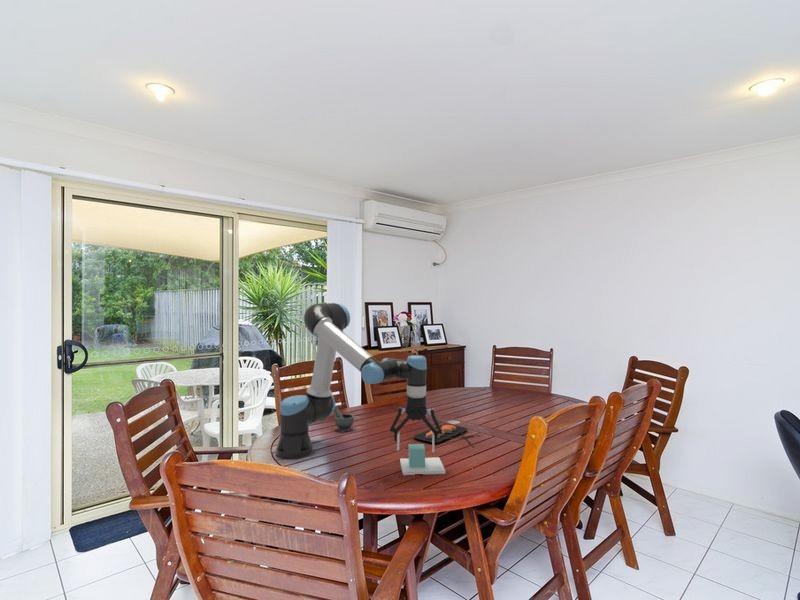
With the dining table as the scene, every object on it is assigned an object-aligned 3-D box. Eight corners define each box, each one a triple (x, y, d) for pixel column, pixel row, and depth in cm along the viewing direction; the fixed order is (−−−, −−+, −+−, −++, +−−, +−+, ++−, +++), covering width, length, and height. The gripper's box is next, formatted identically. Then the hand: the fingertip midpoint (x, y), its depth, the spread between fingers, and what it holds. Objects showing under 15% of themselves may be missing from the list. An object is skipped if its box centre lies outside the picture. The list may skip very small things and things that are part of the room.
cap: (409, 467, 170) (409, 449, 170) (408, 461, 176) (408, 444, 176) (425, 467, 170) (425, 448, 170) (423, 461, 176) (423, 443, 176)
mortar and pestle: (356, 428, 227) (356, 404, 227) (350, 433, 218) (350, 408, 218) (335, 426, 229) (335, 403, 229) (329, 432, 220) (329, 407, 220)
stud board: (402, 475, 165) (402, 458, 165) (399, 461, 179) (399, 446, 179) (445, 473, 167) (445, 457, 167) (439, 460, 181) (439, 445, 181)
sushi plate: (445, 427, 230) (445, 419, 230) (498, 438, 211) (498, 430, 211) (410, 440, 208) (410, 432, 208) (465, 454, 189) (465, 445, 189)
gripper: (448, 394, 175) (447, 448, 176) (385, 392, 178) (385, 445, 178) (448, 399, 168) (448, 455, 168) (383, 396, 170) (382, 452, 171)
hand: (415, 450), depth 173 cm, fingers open, 13 cm apart
